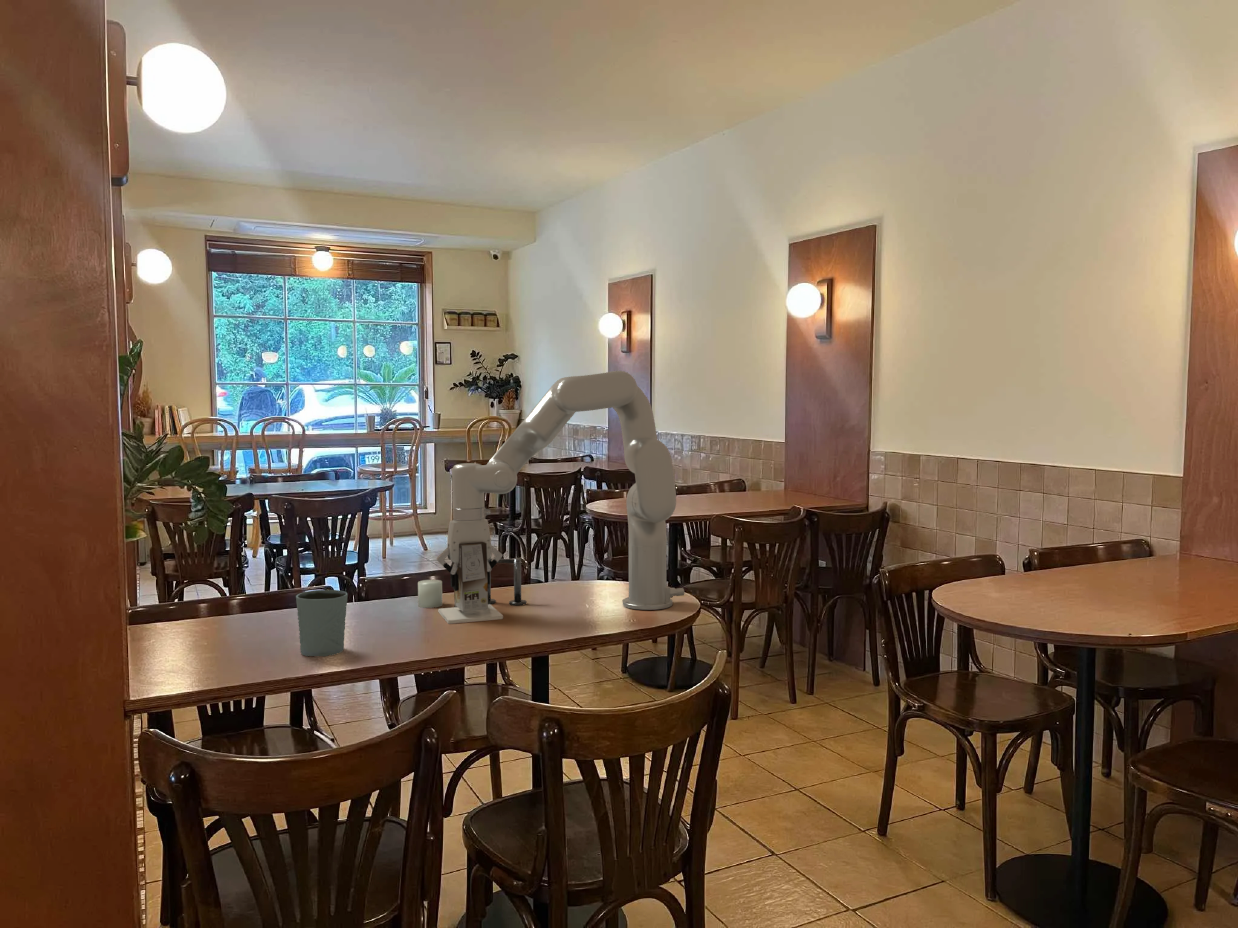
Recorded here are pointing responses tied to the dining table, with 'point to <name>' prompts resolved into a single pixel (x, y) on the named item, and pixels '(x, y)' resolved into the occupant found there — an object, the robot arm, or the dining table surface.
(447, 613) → the plate
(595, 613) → the dining table surface
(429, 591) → the pale green pillar candle
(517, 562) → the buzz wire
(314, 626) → the green tapered pot
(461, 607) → the coffee box
